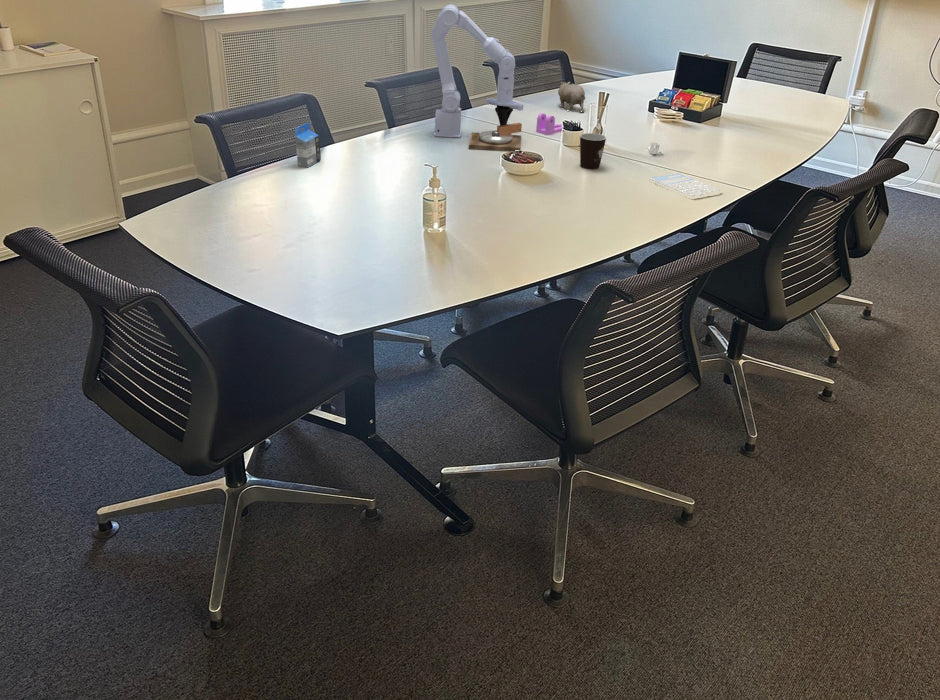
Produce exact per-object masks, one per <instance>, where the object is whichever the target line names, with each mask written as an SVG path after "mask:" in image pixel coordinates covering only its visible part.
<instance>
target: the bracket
mask: <svg viewBox="0 0 940 700" xmlns="http://www.w3.org/2000/svg"><path fill="white" fill-rule="evenodd" d="M561 131H562V123H556V118H555V116H554V115H551V114H549V115H548V116H547V114H545V113H543V112H539V114H538V115H537V118H536V131H535V132H536V133H538V134H543V135H545V136H550V135H553V134H558V133H561ZM562 132H563V131H562Z"/></svg>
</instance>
